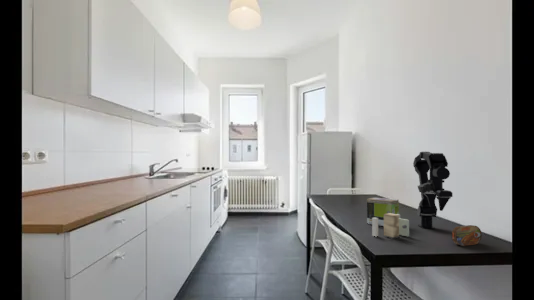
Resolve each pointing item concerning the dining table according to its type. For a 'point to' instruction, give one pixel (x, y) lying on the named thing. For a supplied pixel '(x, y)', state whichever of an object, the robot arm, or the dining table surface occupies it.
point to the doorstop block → (391, 225)
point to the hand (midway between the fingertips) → (436, 208)
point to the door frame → (376, 226)
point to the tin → (466, 235)
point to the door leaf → (403, 227)
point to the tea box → (381, 209)
